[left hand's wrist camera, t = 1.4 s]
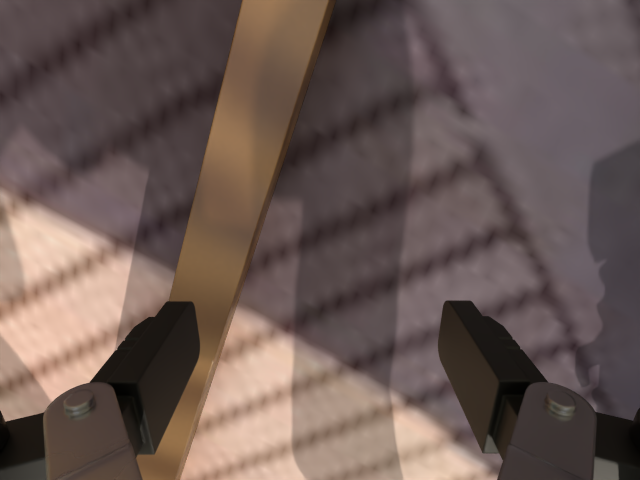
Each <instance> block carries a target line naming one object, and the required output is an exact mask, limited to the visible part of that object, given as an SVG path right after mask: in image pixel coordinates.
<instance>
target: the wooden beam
mask: <svg viewBox="0 0 640 480" xmlns="http://www.w3.org/2000/svg"><path fill="white" fill-rule="evenodd" d="M335 3H336V0H242V4H241V8H240V12H239V16H238V20H237V24H236V28H235V32H234V36H233V41H232V45H231V49H230V53H229V57H228V61H227V65H226V69H225V73H224V77H223V81H222V85H221V90H220V94H219V98H218V102H217V106H216V110H215V114H214V118H213V122H212V126H211V130H210V135H209V139H208V143H207V147H206V151H205V155H204V159H203V163H202V167H201V171H200V175H199V179H198V184H197V188H196V192H195V196H194V200H193V204H192V208H191V212H190V216H189V220H188V224H187V229H186V233H185V237H184V241H183V245H182V249H181V253H180V257H179V261H178V265H177V269H176V273H175V278H174V282H173V286H172V290H171V294H170V298H169V301H192V302H193V303H194V306H195V311H196V318H197V324H198V331H199V338H200V354H199V359H198V362H197V364H196V366H195V368H194V371H193V373H192V375H191V377H190V379H189V381H188V383H187V386H186V388H185V390H184V392H183V394H182V396H181V399H180V401H179V403H178V405H177V407H176V409H175V412H174V414H173V416H172V418H171V420H170V422H169V425H168V427H167V429H166V431H165V433H164V435H163V438H162V440H161V442H160V444H159V446H158V448H157V450H156V453H155V455H137V457H136V460H137V463H138V466H139V469H140V472H141V476H142V479H143V480H180V478H181V475H182V472H183V469H184V465H185V462H186V459H187V456H188V453H189V450H190V447H191V444H192V441H193V438H194V435H195V432H196V429H197V426H198V423H199V420H200V416H201V413H202V410H203V407H204V404H205V401H206V398H207V395H208V392H209V389H210V386H211V383H212V380H213V377H214V374H215V370H216V367H217V364H218V361H219V358H220V355H221V352H222V349H223V346H224V343H225V340H226V337H227V334H228V331H229V328H230V324H231V321H232V318H233V315H234V312H235V309H236V306H237V303H238V300H239V297H240V294H241V291H242V288H243V285H244V282H245V278H246V275H247V272H248V269H249V266H250V263H251V260H252V257H253V254H254V251H255V248H256V245H257V242H258V239H259V236H260V232H261V229H262V226H263V223H264V220H265V217H266V214H267V211H268V208H269V205H270V202H271V199H272V196H273V193H274V190H275V186H276V183H277V180H278V177H279V174H280V171H281V168H282V165H283V162H284V159H285V156H286V153H287V150H288V147H289V144H290V140H291V137H292V134H293V131H294V128H295V125H296V122H297V119H298V116H299V113H300V110H301V107H302V104H303V101H304V98H305V95H306V91H307V88H308V85H309V82H310V79H311V76H312V73H313V70H314V67H315V64H316V61H317V58H318V55H319V52H320V49H321V45H322V42H323V39H324V36H325V33H326V30H327V27H328V24H329V21H330V18H331V15H332V12H333V9H334V6H335Z"/></svg>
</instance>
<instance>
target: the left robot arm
mask: <svg viewBox="0 0 640 480" xmlns="http://www.w3.org/2000/svg"><path fill="white" fill-rule="evenodd" d="M438 352H439V357H440V361H441V363H442V365H443V367H444V369H445V372H446V374H447V376H448V378H449V380H450V383H451V385H452V387H453V389H454V391H455V394H456V396H457V398H458V400H459V402H460V405H461V407H462V409H463V411H464V413H465V415H466V418H467V420H468V422H469V424H470V426H471V429H472V431H473V433H474V435H475V437H476V440H477V442H478V444H479V446H480V448H481V450H482V453H499V454H500V456H501V458H502V460H503V463H502V466H501V469H500V472H499V476H498V479H497V480H640V408H639V409H638V411H637V413H636V416H635V418H634V420H633V421H631V420H627V419H623V418H619V417H614V416H610V415H606V414H602V413H597V412H595V411H594V409H593V407H592V406H591V405H590V404H589V403H588V402H587V401H586V400H585V399H584V398H583V397H581V396H580V395H579V394H577V393H575V392H574V391H572V390H570V389H568V388H566V387H563V386H560V385H558V384H554V383H548V381H547V380H546V379H545V378H544V376H543V375H542V374H541V373H540V371H539V370H538V369H537V368H536V366H535V365H534V364H533V363H532V361H531V360H530V359H529V358H528V356H527V355H526V354H525V353H524V351H523V350H520V346H519V345H518V344H517V343H516V341H515V340H513V339H512V336H511V335H510V334H509V333H508V331H507V330H506V329H505V328H504V326H502V325H501V324H499V323H498V322H496V321H495V320H493V319H492V318H491V317H489V316H482V315H481V313H480V312H479V311H478V309H477V308H476V307H475V305H474V304H473V303H472V302H471V301H445V303H444V305H443V311H442V318H441V325H440V332H439V339H438ZM199 354H200V338H199V331H198V324H197V318H196V311H195V306H194V303H193V302H192V301H168V302H166V303H165V304H164V306H163V307H162V308H161V310H160V311H159V312H158V314H157V315H156V316H155V317H148V318H147V319H145V320H144V321H142V322H141V323H139V324H138V325H136V326H135V327H134V328H133V329H132V331H131V332H130V333H129V334H128V335H127V337H126V338H125V341H123V342H122V343H121V344H120V345H119V347H118V349H117V350H115V352H114V353H113V354H112V355H111V357H110V358H109V359H108V360H107V362H106V363H105V364H104V365H103V366H102V368H101V369H100V370H99V371H98V373H97V374H96V375H95V376H94V378H93V379H92V380H91V381H90V383H86V384H82V385H80V386H77V387H74V388H72V389H70V390H68V391H66V392H65V393H63V394H61V395H60V396H59V397H57V398H56V399H55V400H54V401H53V402H52V403H51V404H50V405H49V406H48V407H47V409H46V411H45V412H44V413H41V414H37V415H32V416H28V417H24V418H20V419H15V420H11V421H7V422H5V420H4V418H3V415H2V413H1V411H0V480H143V479H142V476H141V472H140V469H139V466H138V463H137V460H136V457H137V455H155V453H156V450H157V448H158V446H159V444H160V442H161V440H162V438H163V435H164V433H165V431H166V429H167V427H168V425H169V422H170V420H171V418H172V416H173V414H174V412H175V409H176V407H177V405H178V403H179V401H180V399H181V396H182V394H183V392H184V390H185V388H186V386H187V383H188V381H189V379H190V377H191V375H192V373H193V371H194V368H195V366H196V364H197V362H198V359H199Z"/></svg>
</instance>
